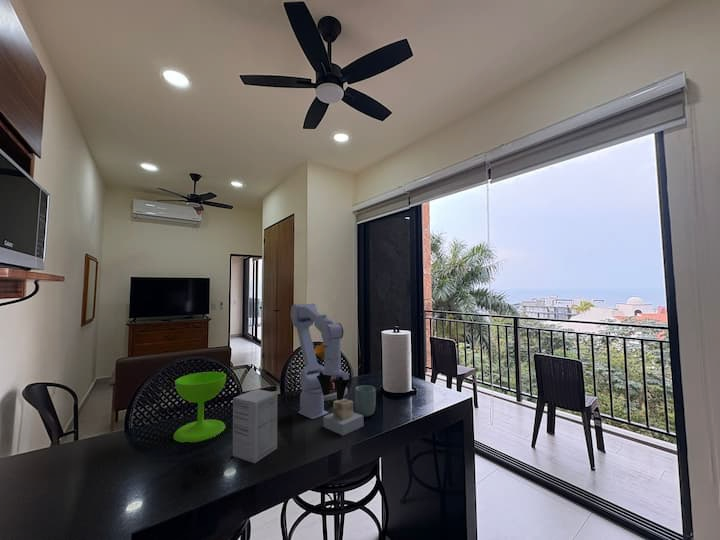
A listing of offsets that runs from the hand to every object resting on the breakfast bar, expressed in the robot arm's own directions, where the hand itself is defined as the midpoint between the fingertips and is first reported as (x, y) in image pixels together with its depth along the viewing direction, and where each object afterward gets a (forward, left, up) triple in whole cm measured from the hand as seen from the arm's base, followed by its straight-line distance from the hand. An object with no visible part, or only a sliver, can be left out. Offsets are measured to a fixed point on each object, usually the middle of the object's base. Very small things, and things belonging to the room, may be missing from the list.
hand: (333, 397), depth 111 cm
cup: (+1, +16, -11) cm, 19 cm away
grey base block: (+2, +3, -11) cm, 12 cm away
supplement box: (-4, -27, -11) cm, 29 cm away
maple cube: (+2, +3, -7) cm, 8 cm away
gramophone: (-30, +22, -11) cm, 39 cm away
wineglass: (-31, -33, -11) cm, 47 cm away
